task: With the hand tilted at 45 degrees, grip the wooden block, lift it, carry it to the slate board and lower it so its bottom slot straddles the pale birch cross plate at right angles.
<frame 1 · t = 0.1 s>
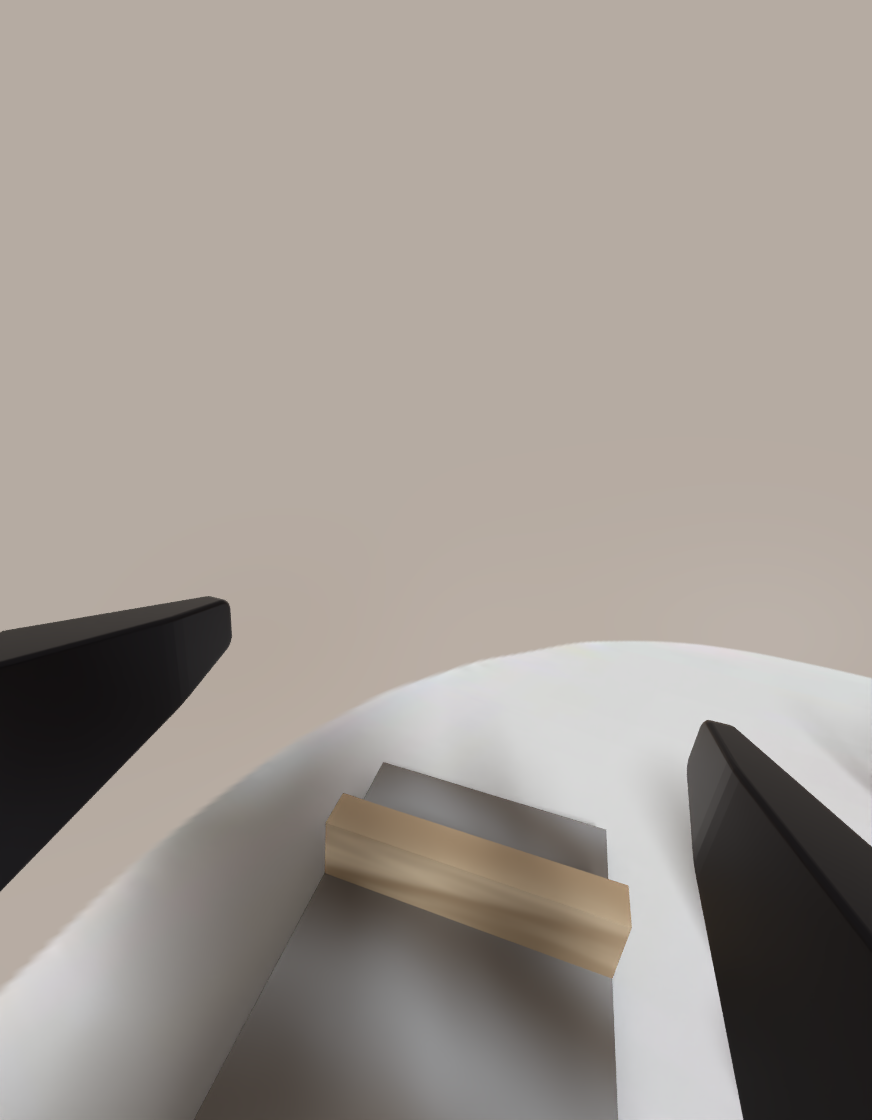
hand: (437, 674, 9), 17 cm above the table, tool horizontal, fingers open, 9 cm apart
cross plate base: (460, 918, 21), on the table
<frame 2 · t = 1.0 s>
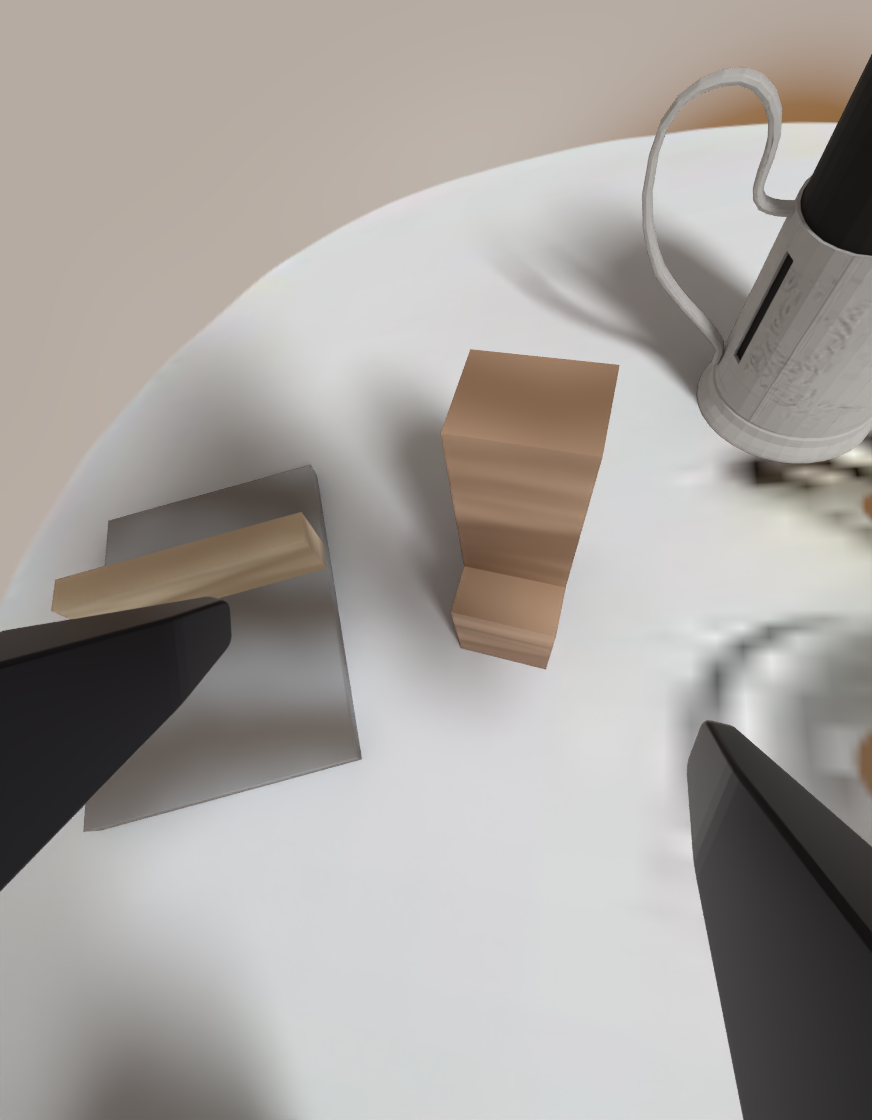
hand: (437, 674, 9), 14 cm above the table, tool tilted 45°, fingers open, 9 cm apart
glass holder: (727, 393, 28), on the table
wooden block: (518, 590, 24), on the table
cross plate base: (222, 593, 26), on the table
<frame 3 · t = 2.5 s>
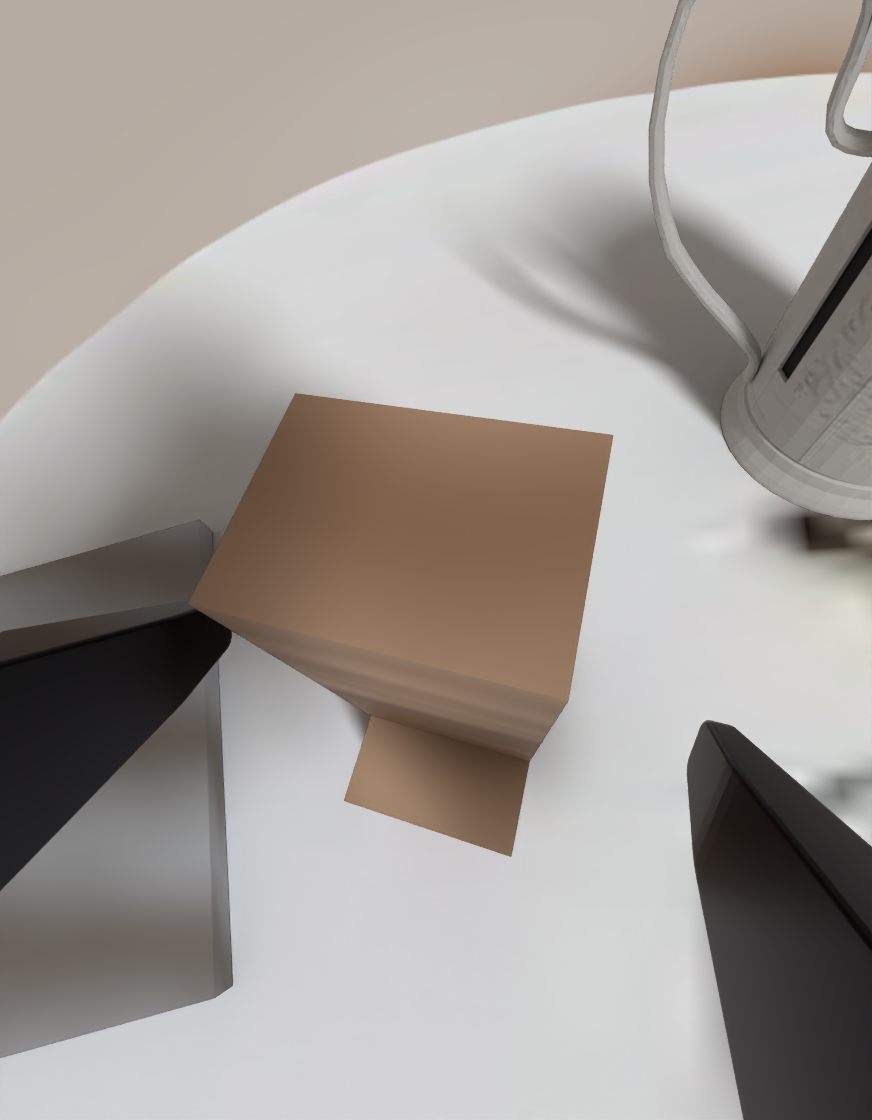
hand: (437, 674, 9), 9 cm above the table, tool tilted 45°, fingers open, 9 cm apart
glass holder: (761, 418, 21), on the table
wooden block: (474, 709, 17), on the table
cross plate base: (68, 703, 19), on the table
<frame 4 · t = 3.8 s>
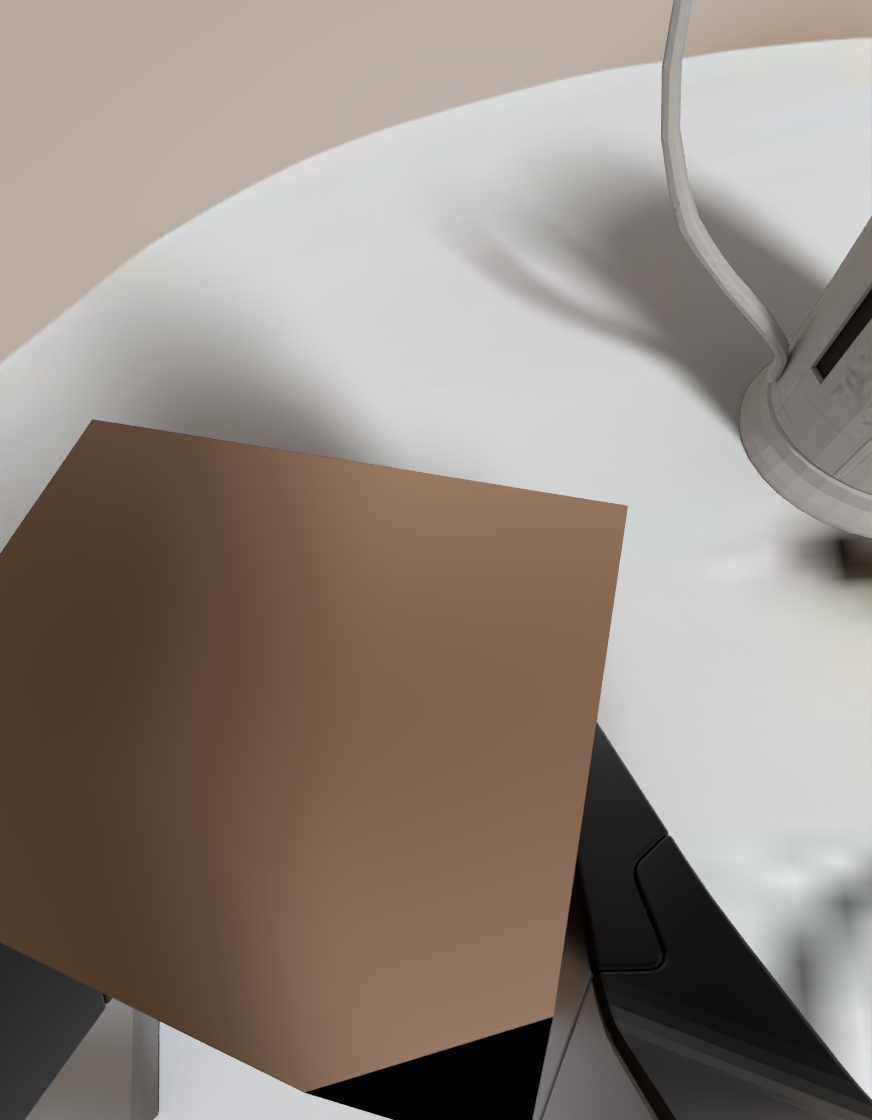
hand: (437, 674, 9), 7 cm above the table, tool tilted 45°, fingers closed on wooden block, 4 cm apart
glass holder: (785, 422, 18), on the table
wooden block: (453, 768, 14), on the table, touching gripper
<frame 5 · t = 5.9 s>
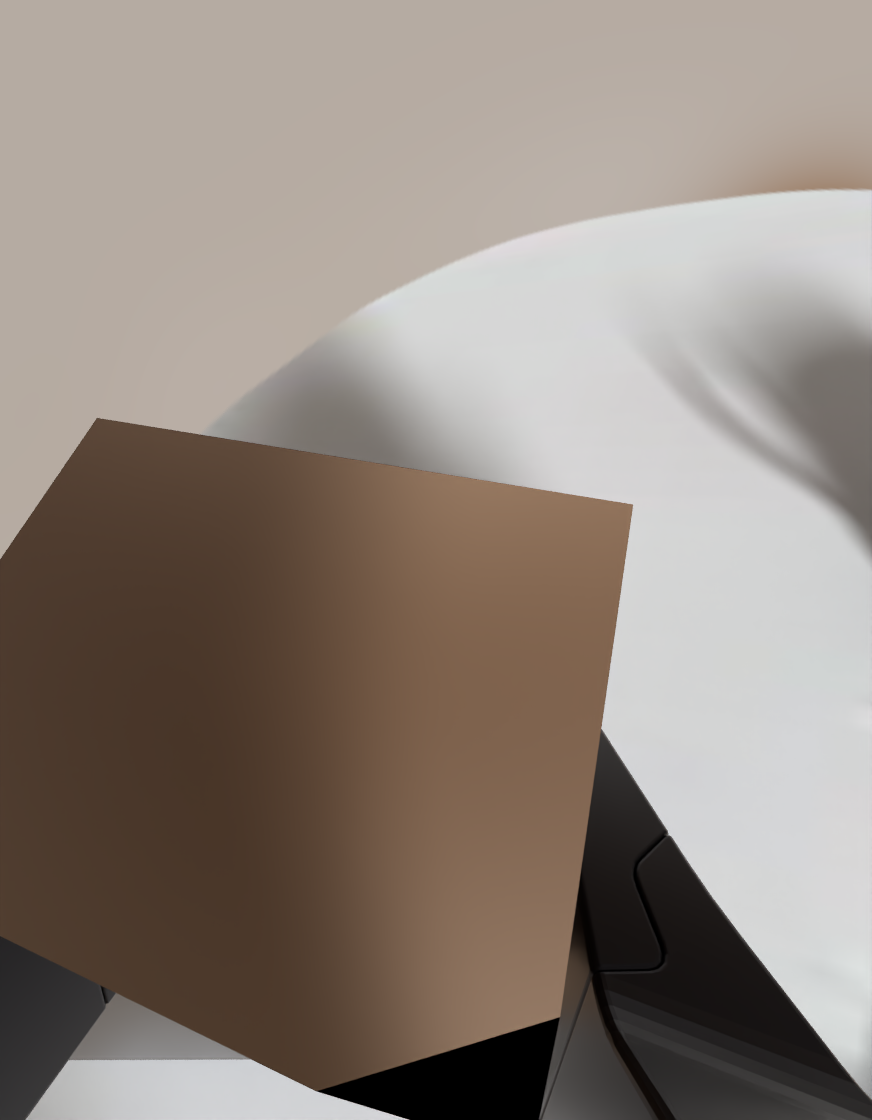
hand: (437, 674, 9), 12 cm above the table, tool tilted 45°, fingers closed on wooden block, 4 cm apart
wooden block: (454, 768, 14), point 6 cm above the table, touching gripper
cross plate base: (244, 741, 21), on the table
when the fingers open (8 cm above the table, at t = 8.1 s): wooden block stays where it is, resting on cross plate base.
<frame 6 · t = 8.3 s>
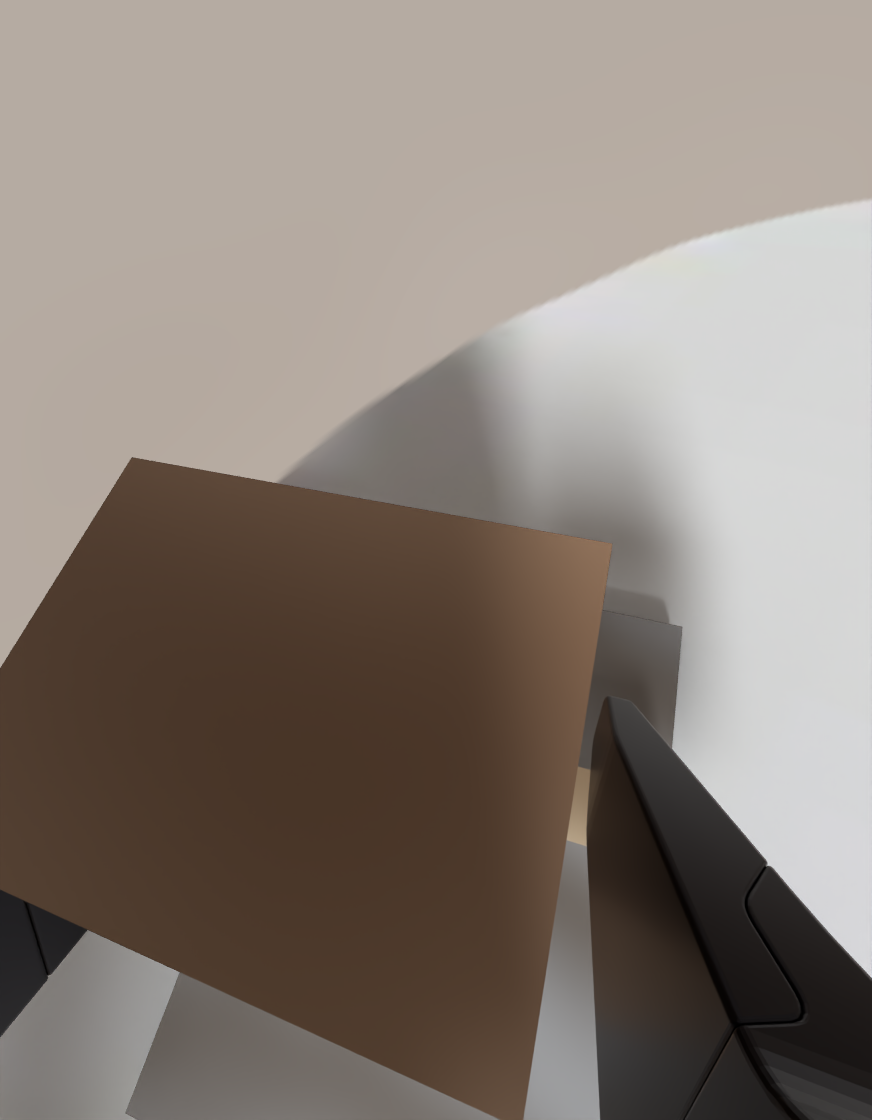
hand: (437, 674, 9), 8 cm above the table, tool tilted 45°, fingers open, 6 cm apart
wooden block: (454, 769, 15), point 1 cm above the table, touching cross plate base
cross plate base: (457, 769, 16), on the table
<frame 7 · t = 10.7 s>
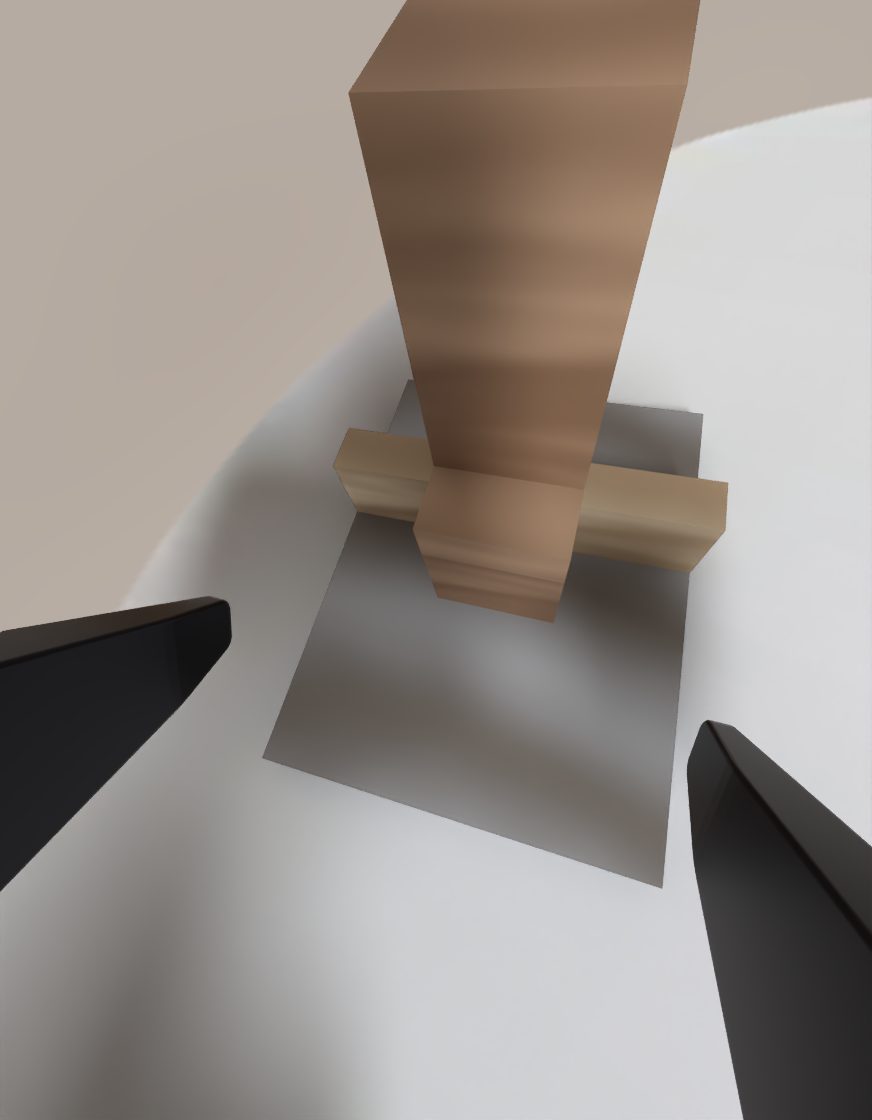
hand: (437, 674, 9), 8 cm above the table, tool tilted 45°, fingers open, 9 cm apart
wooden block: (515, 521, 18), point 1 cm above the table, touching cross plate base
cross plate base: (514, 533, 19), on the table
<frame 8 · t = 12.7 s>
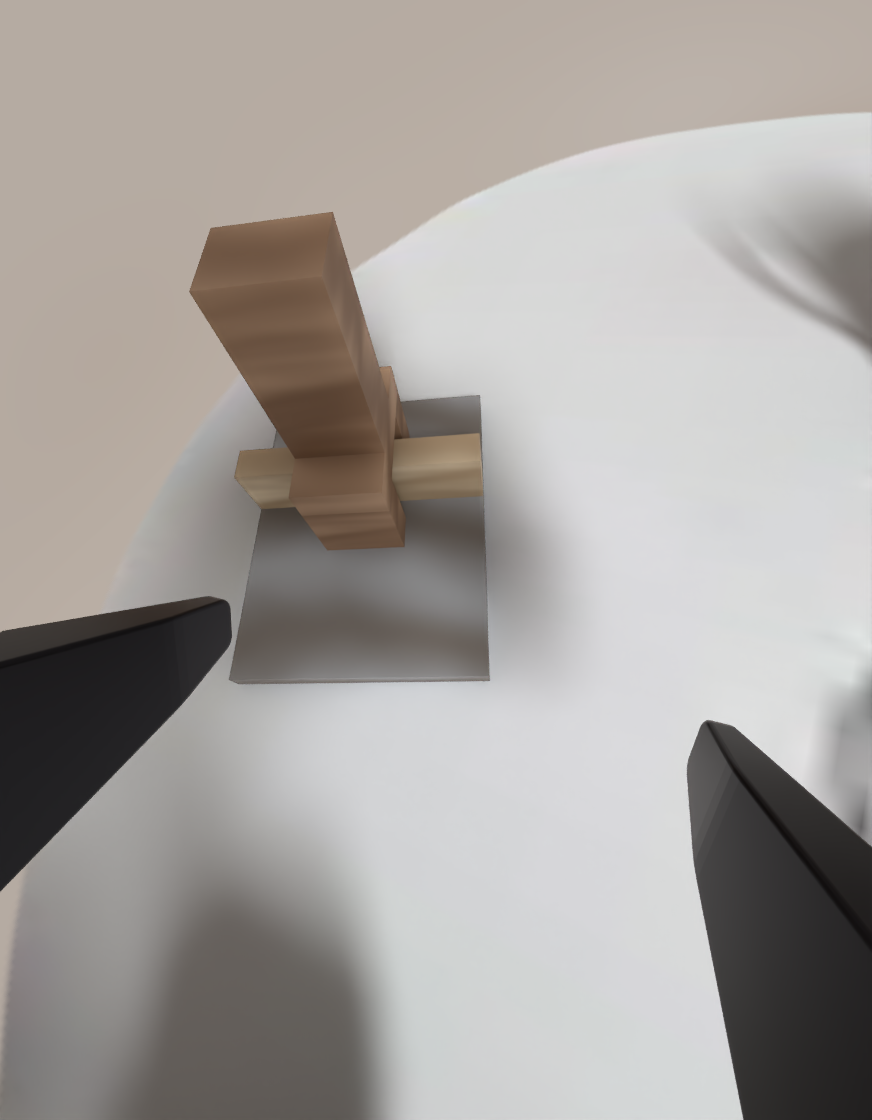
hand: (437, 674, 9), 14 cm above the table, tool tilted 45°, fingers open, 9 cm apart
wooden block: (370, 490, 26), point 1 cm above the table, touching cross plate base
cross plate base: (374, 499, 27), on the table
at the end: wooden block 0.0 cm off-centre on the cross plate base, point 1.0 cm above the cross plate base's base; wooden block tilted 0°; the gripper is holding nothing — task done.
